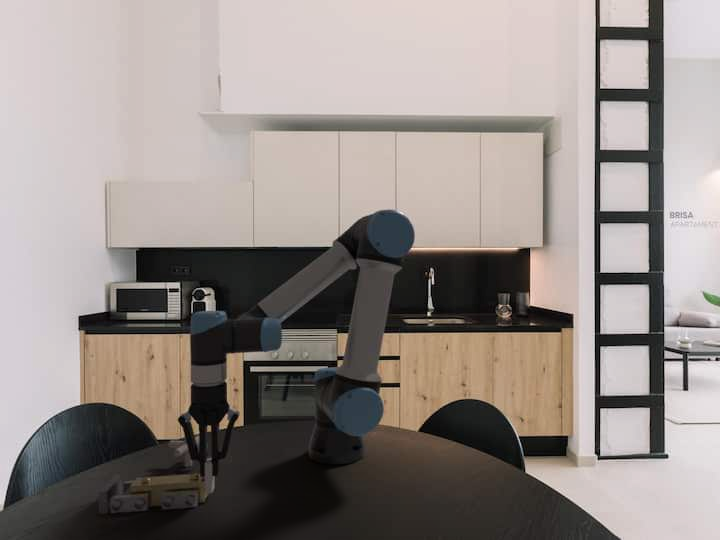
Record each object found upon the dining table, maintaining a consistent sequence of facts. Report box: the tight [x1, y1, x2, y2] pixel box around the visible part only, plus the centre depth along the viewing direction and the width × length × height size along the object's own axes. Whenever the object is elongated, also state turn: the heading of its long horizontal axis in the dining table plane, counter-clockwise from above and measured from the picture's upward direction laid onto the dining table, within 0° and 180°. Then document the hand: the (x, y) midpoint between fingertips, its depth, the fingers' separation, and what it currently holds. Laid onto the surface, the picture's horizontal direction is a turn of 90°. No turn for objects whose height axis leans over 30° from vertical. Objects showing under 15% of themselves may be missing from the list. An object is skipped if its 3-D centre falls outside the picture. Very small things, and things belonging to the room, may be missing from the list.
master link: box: [130, 472, 209, 507], centre depth 98 cm, size 15×4×5 cm, turn 97°
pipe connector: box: [168, 434, 209, 468], centre depth 116 cm, size 10×10×10 cm
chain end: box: [161, 490, 199, 511], centre depth 99 cm, size 7×9×3 cm
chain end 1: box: [98, 474, 150, 515], centre depth 97 cm, size 9×9×4 cm
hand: (209, 490), depth 99 cm, fingers closed
